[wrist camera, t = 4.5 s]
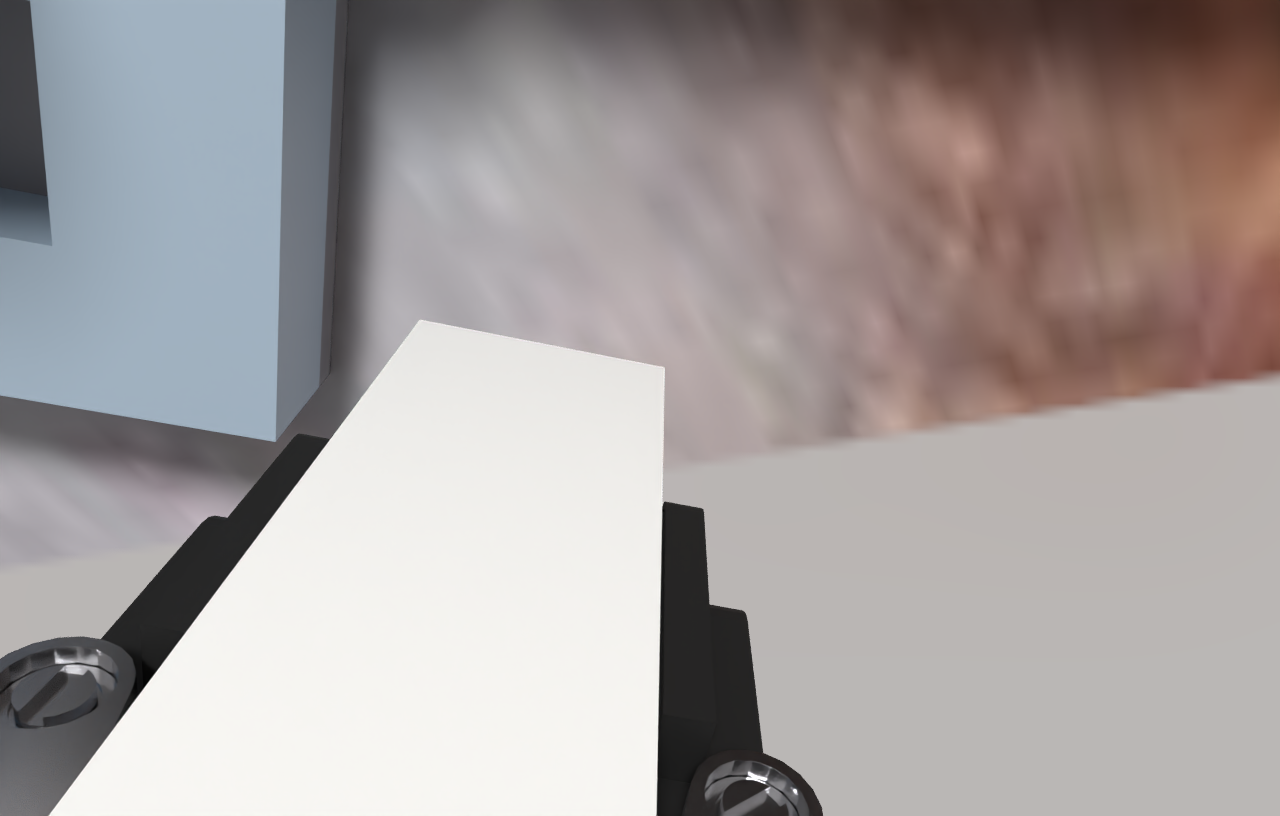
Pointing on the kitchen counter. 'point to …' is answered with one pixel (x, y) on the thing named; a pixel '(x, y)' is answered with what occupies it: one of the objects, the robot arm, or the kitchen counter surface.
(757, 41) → the kitchen counter surface
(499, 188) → the kitchen counter surface
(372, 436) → the white square peg
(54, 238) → the socket plate
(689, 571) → the robot arm
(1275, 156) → the kitchen counter surface
